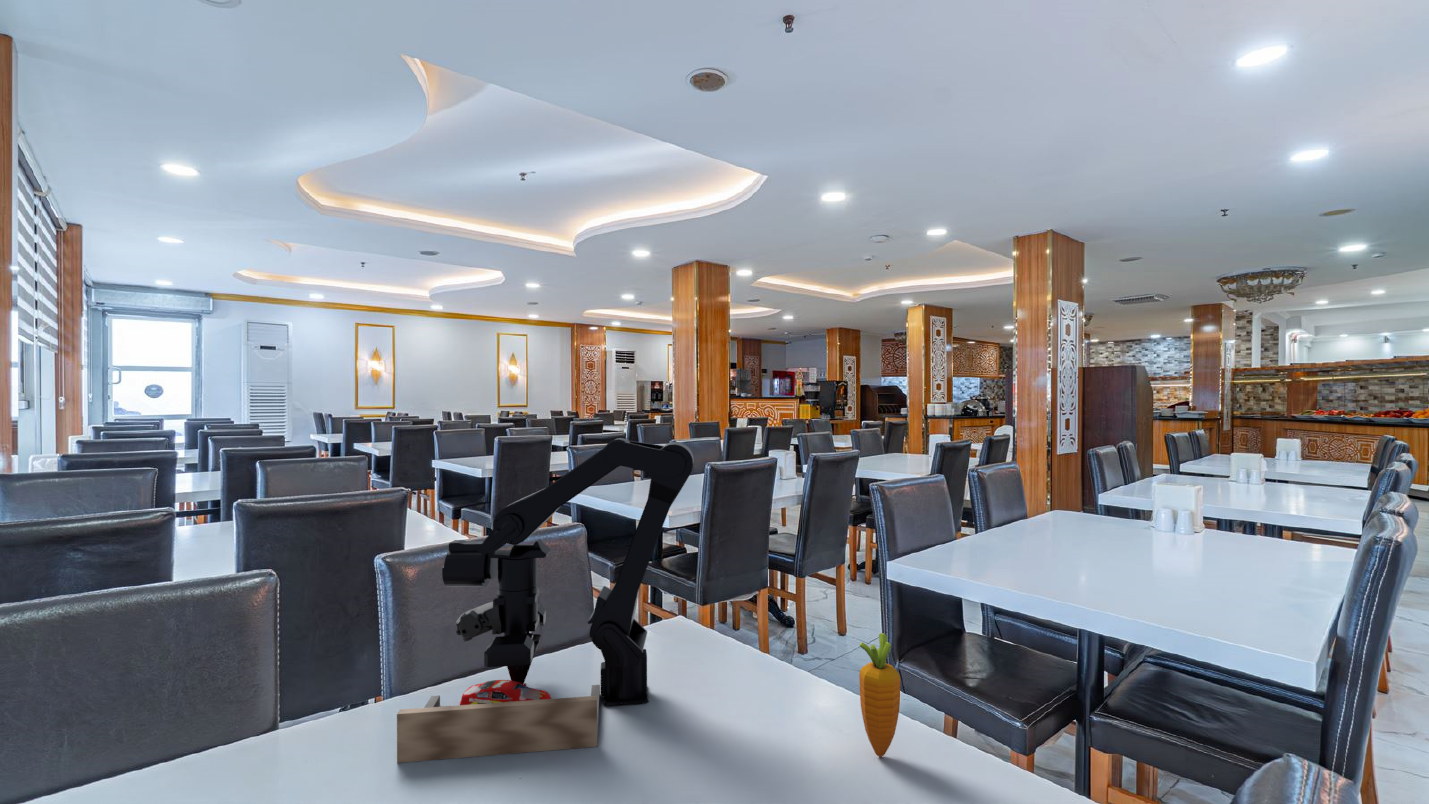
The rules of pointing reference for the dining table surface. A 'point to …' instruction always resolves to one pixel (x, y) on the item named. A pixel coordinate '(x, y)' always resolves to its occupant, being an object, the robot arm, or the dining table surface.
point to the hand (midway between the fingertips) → (518, 689)
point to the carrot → (879, 696)
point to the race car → (501, 693)
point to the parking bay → (497, 728)
